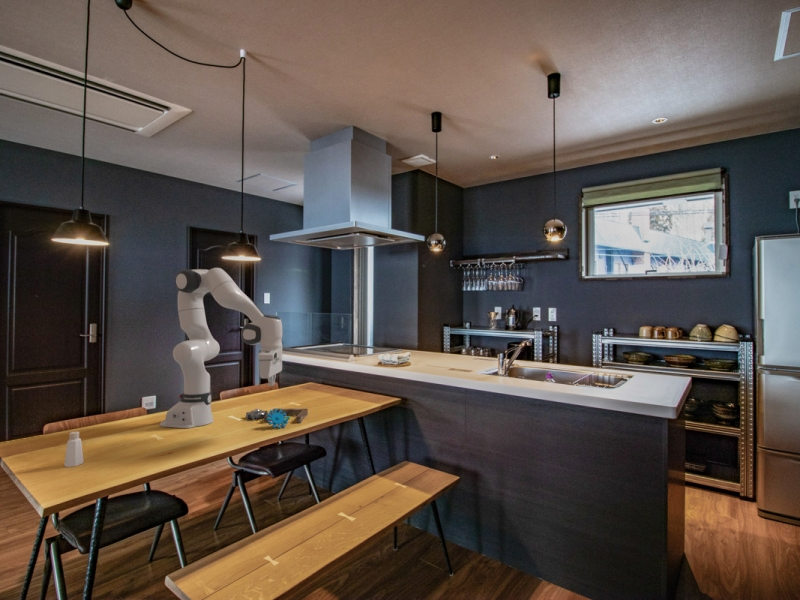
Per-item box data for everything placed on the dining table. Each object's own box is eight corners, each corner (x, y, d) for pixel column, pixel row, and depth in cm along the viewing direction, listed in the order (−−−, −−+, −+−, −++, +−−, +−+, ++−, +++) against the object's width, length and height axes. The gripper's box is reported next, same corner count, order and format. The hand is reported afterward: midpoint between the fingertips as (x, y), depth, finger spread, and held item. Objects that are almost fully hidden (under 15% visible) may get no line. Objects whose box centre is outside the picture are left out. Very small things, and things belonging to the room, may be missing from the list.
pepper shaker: (87, 461, 149) (87, 430, 149) (76, 467, 143) (76, 434, 144) (71, 461, 149) (72, 430, 149) (59, 467, 143) (60, 434, 143)
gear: (269, 427, 184) (266, 407, 191) (264, 434, 187) (261, 415, 194) (293, 426, 191) (289, 407, 197) (288, 433, 194) (284, 415, 200)
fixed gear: (242, 420, 201) (242, 412, 201) (250, 414, 211) (250, 406, 211) (264, 420, 201) (264, 412, 201) (270, 414, 211) (270, 406, 211)
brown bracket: (264, 422, 197) (264, 416, 197) (273, 414, 212) (273, 408, 212) (300, 423, 197) (300, 416, 197) (307, 414, 212) (307, 408, 212)
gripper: (271, 350, 191) (271, 381, 191) (256, 356, 170) (256, 390, 170) (285, 350, 191) (285, 381, 191) (271, 356, 170) (271, 390, 170)
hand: (271, 385), depth 180 cm, fingers closed
